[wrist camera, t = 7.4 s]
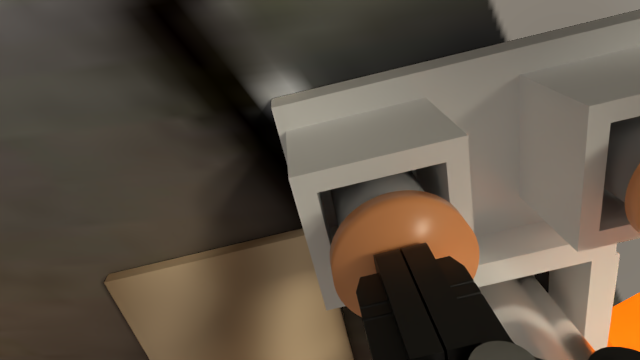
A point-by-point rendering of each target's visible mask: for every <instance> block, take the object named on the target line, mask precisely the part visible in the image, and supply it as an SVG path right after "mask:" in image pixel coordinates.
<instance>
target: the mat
mask: <svg viewBox="0 0 640 360" xmlns="http://www.w3.org/2000/svg"><path fill="white" fill-rule="evenodd" d="M104 284H105V285H106V287H107V289H108V290H109V292H110V294H111V295H112V297H113V299H114V301H115V302H116V304H117V306H118V307H119V309H120V311H121V312H122V314H123V316H124V317H125V319H126V321H127V322H128V324H129V326H130V327H131V329H132V331H133V332H134V334H135V336H136V337H137V339H138V341H139V342H140V344H141V346H142V347H143V349H144V351H145V353H146V354H147V356H148V358H149V359H150V360H354V357H353V353H352V350H351V346H350V342H349V338H348V335H347V331H346V327H345V323H344V320H343V316H342V312H341V308H335V309H331V310H327V311H326V307H325V304H324V300H323V297H322V293H321V290H320V286H319V283H318V279H317V276H316V272H315V269H314V265H313V262H312V259H311V255H310V252H309V248H308V245H307V241H306V238H305V234H304V231H303V228H302V229H297V230H293V231H289V232H285V233H281V234H276V235H272V236H268V237H264V238H259V239H255V240H251V241H247V242H242V243H238V244H234V245H230V246H226V247H221V248H217V249H213V250H209V251H204V252H200V253H196V254H192V255H187V256H183V257H179V258H175V259H171V260H166V261H162V262H158V263H154V264H149V265H145V266H141V267H137V268H132V269H128V270H124V271H120V272H116V273H111V274H108V276H107V278H106V280H105V282H104Z"/></svg>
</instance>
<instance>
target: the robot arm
mask: <svg viewBox="0 0 640 360" xmlns="http://www.w3.org/2000/svg"><path fill="white" fill-rule="evenodd" d="M373 257H374V262H375V267H376V272H377V273H376V274H372V275H367V276H363V277H360V279H359V283H358V286H357V290H356V295H357V299H358V303H359V307H360V311H361V316H362V320H363V324H364V328H365V332H366V336H367V341H368V345H369V349H370V353H371V357H372V360H543V359H540V358H537V357H534V356H533V355H532V354H531V353H529V352H528V351H527V350H526V349H524V348H522V347H521V346H518V345H516V344H515V343H514V342H513V341H512V339H511V338H510V337H509V335H508V334H507V332H506V330H505V329H504V327H503V326H502V324H501V323H500V321H499V319H498V318H497V316H496V315H495V313H494V312H493V310H492V308H491V307H490V305H489V304H488V302H487V300H486V299H485V297H484V296H483V294H481V291H480V289H479V288H478V286H477V285H476V283H474V280H473V278H472V277H471V275H470V274H469V272H468V271H467V269H466V267H465V266H464V265H462V264H461V263H459V262H458V261H457V260H455V259H454V258H452V257H451V256H447V257H443V258H439V259H435V257H434V255H433V253H432V252H431V250H430V248H429V246H428V245H427V243H421V244H416V245H412V246H408V247H404V248H400V250H399V249H396V250H392V251H387V252H383V253H379V254H375V255H373ZM588 360H640V352H639V351H637V350H634V349H630V348H626V347H605V348H601V349H599V350H597V351H595V352H594V353H593V354H591V356H590V357H589V358H588Z"/></svg>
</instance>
